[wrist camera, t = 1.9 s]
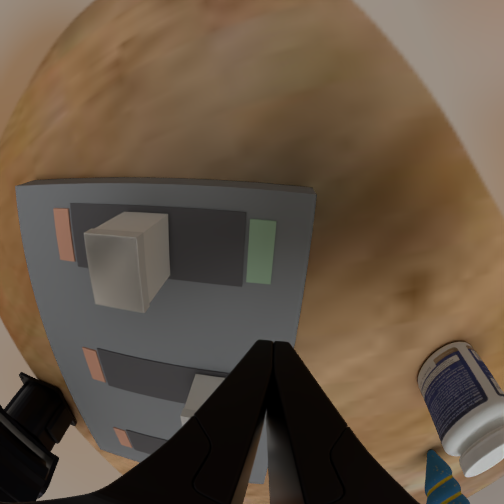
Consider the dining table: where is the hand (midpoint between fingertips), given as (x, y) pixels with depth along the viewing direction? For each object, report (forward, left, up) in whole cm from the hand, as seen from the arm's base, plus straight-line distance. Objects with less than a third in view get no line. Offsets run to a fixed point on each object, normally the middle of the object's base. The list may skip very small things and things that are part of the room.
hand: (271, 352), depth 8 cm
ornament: (+21, -23, -9) cm, 32 cm away
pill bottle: (+15, -9, -9) cm, 19 cm away
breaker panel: (-7, -11, -9) cm, 16 cm away
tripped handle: (-6, 0, -7) cm, 9 cm away
